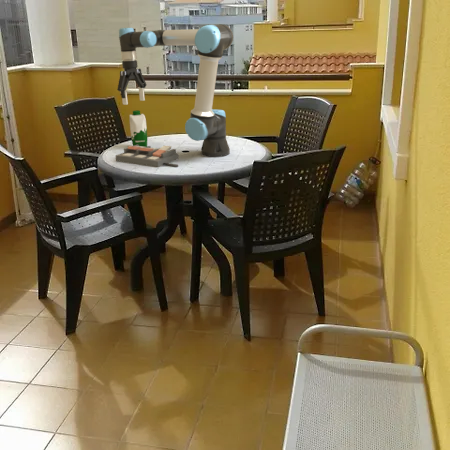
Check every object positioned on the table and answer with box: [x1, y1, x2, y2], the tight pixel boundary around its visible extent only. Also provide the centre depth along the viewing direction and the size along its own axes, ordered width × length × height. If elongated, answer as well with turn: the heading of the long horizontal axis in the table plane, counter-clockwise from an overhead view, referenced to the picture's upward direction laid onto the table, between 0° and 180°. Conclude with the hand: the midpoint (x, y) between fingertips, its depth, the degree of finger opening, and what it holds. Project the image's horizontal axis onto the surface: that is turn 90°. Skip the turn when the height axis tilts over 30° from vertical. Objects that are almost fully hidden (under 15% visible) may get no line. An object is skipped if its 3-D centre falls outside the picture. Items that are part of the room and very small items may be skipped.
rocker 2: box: [153, 145, 172, 157], centre depth 268 cm, size 4×10×1 cm, turn 149°
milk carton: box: [129, 110, 148, 147], centre depth 294 cm, size 9×9×20 cm
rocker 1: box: [127, 145, 144, 150], centre depth 276 cm, size 4×10×1 cm, turn 149°
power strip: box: [115, 145, 179, 168], centre depth 269 cm, size 36×17×5 cm, turn 59°
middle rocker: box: [140, 147, 159, 151], centre depth 272 cm, size 4×10×1 cm, turn 149°
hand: (134, 102), depth 278 cm, fingers open, 13 cm apart
